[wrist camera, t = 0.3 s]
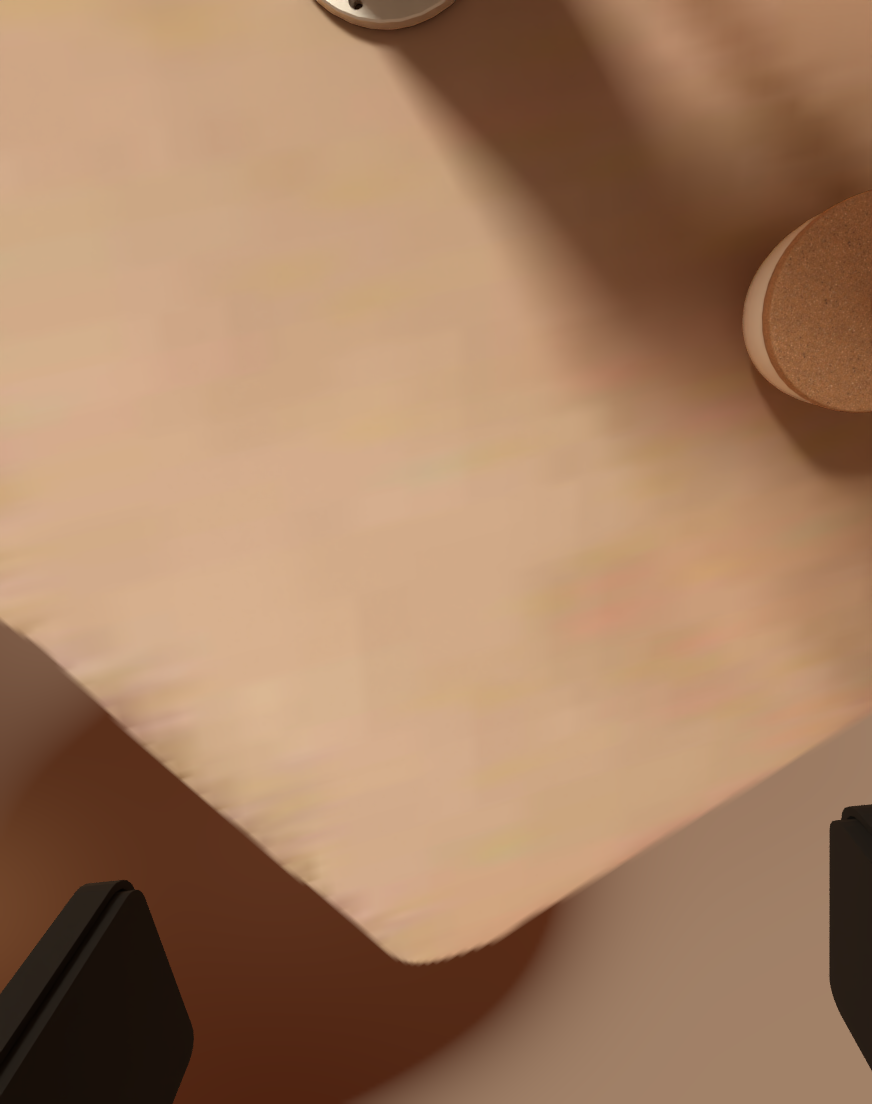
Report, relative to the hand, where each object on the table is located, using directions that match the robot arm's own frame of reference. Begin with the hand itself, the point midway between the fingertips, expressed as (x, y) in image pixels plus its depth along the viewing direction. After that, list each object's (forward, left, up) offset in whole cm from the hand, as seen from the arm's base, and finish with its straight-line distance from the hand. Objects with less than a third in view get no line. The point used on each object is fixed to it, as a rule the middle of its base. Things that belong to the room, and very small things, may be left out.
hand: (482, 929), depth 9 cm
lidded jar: (+6, +21, -37) cm, 43 cm away
